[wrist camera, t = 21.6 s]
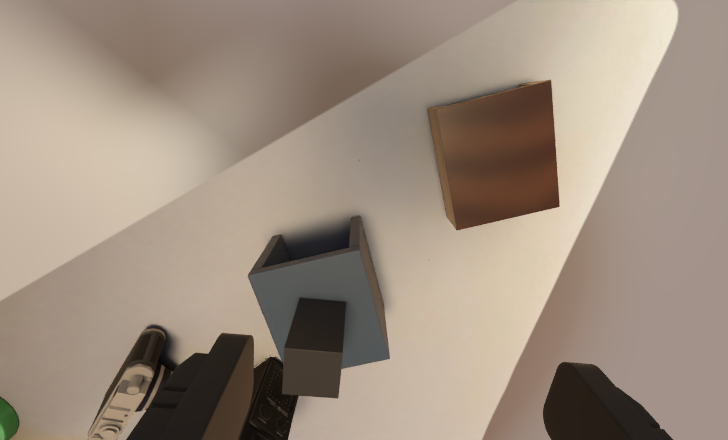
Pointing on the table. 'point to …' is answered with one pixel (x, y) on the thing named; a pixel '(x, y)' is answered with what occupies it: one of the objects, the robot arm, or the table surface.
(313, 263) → the grey step stool
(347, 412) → the table surface
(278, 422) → the portable radio
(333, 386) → the black block
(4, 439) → the tape roll
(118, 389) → the camera
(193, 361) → the robot arm
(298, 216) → the table surface
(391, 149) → the table surface
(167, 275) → the table surface
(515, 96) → the brown wooden box
